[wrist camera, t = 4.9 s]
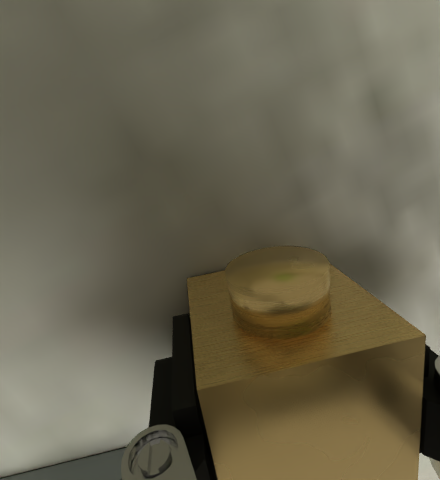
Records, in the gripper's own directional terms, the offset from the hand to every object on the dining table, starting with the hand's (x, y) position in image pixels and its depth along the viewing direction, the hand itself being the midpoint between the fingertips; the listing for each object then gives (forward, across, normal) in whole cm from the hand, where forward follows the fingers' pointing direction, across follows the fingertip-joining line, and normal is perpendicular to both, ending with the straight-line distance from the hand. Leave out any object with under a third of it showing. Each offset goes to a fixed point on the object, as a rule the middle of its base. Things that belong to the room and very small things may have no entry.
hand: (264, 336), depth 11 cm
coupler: (+1, 0, 0) cm, 1 cm away
